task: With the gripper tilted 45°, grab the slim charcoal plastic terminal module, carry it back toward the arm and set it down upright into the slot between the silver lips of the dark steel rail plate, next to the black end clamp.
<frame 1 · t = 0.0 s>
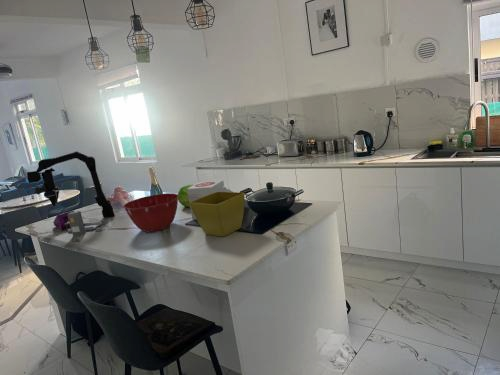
hand: (55, 204, 227), 15 cm above the countertop, fingers open, 9 cm apart
rail plate: (85, 228, 219), on the countertop
flower pot: (222, 231, 177), on the countertop
mounting bracket: (65, 227, 231), on the countertop
pizza boxes: (218, 213, 209), on the countertop
mixing bowl: (157, 228, 199), on the countertop
terminal module: (79, 234, 208), on the countertop
lettuce: (195, 206, 231), on the countertop
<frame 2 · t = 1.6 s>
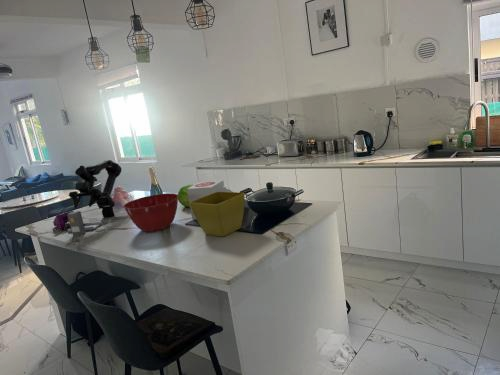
hand: (82, 207, 213), 13 cm above the countertop, fingers open, 9 cm apart
nothing on the countertop moved.
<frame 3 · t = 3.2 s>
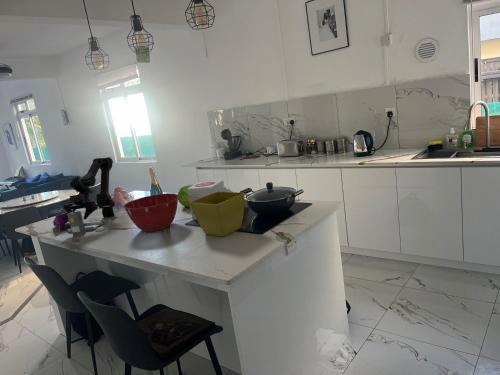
hand: (76, 220, 207), 8 cm above the countertop, fingers open, 9 cm apart
nothing on the countertop moved.
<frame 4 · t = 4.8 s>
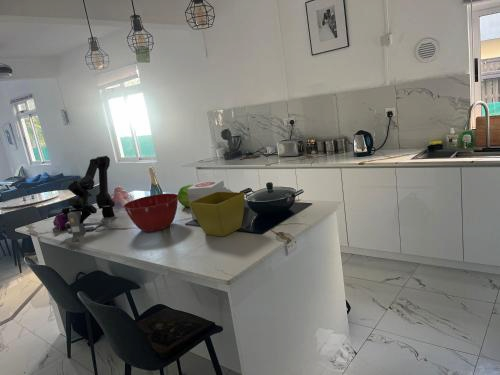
hand: (75, 224, 206), 7 cm above the countertop, fingers closed on terminal module, 5 cm apart
terminal module: (79, 234, 208), on the countertop, touching gripper
everything else where it was.
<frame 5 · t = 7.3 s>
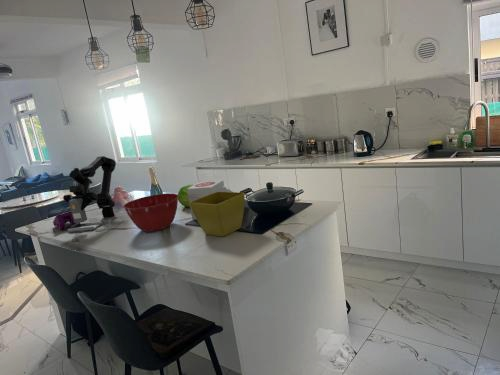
hand: (77, 210, 208), 13 cm above the countertop, fingers closed on terminal module, 5 cm apart
terminal module: (81, 221, 210), point 6 cm above the countertop, touching gripper
everything else where it was.
when the fingers open (9 cm above the countertop, at t = 9.8 s): terminal module drops 1 cm, resting on rail plate.
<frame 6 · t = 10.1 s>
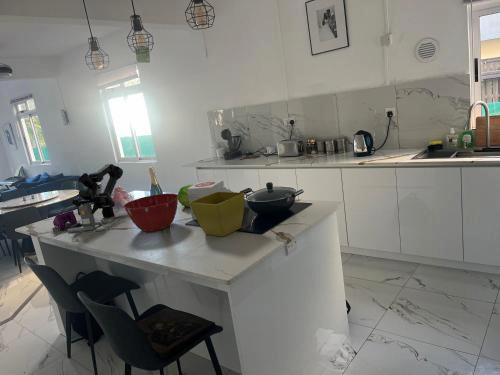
hand: (85, 214, 215), 9 cm above the countertop, fingers open, 8 cm apart
terminal module: (89, 226, 218), point 1 cm above the countertop, touching rail plate
everything else where it was.
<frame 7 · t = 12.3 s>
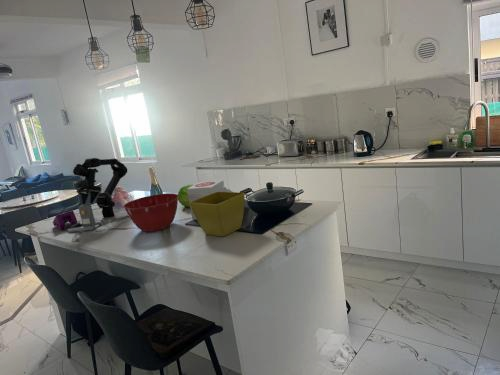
hand: (87, 203, 223), 13 cm above the countertop, fingers open, 9 cm apart
nothing on the countertop moved.
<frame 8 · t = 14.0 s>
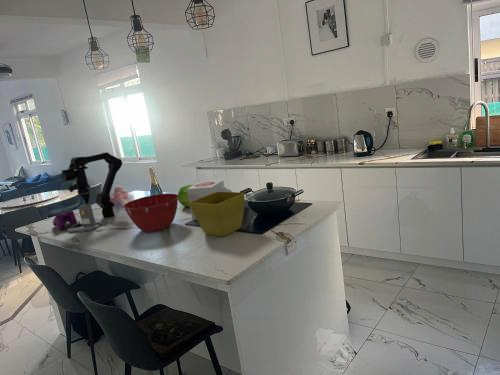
hand: (87, 202, 227), 13 cm above the countertop, fingers open, 9 cm apart
nothing on the countertop moved.
at the end: terminal module 0.3 cm from the target spot on the rail plate, point 1.0 cm above the rail plate's base; terminal module tilted 0°; the gripper is holding nothing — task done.
